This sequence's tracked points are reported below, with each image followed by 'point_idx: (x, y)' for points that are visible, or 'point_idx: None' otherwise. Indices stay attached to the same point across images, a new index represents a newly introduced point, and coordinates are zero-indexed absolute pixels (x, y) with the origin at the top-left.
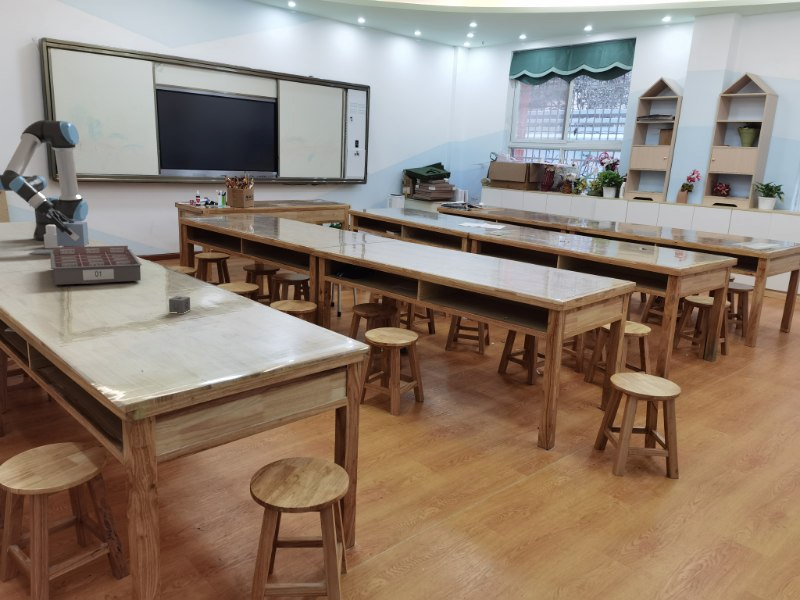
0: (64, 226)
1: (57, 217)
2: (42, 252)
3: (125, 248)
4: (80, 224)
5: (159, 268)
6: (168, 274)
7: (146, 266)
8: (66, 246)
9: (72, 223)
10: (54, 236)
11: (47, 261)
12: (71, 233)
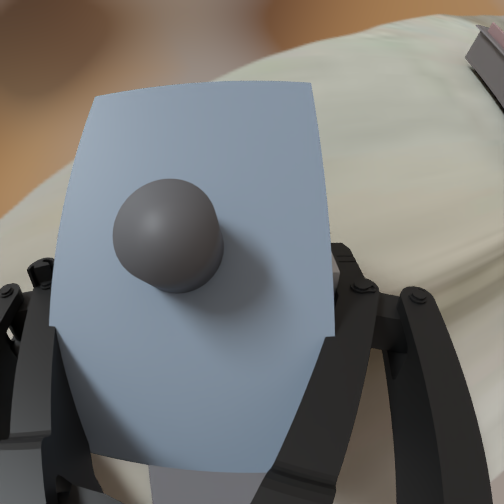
0: (421, 293)
1: (329, 494)
2: (260, 475)
3: (495, 32)
4: (313, 103)
5: (449, 22)
6: None
7: (443, 34)
8: None
9: (260, 212)
10: None
11: (485, 345)
12: (346, 248)
